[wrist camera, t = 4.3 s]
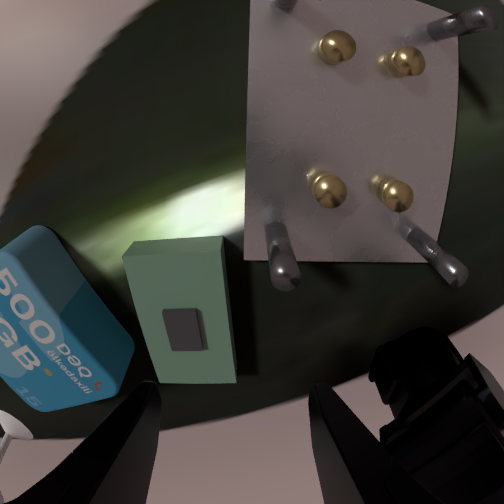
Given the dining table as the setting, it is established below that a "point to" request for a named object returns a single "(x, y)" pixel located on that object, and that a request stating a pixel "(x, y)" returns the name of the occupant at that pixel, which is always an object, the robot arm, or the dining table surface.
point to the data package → (56, 328)
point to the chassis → (351, 132)
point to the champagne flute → (11, 434)
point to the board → (184, 308)
